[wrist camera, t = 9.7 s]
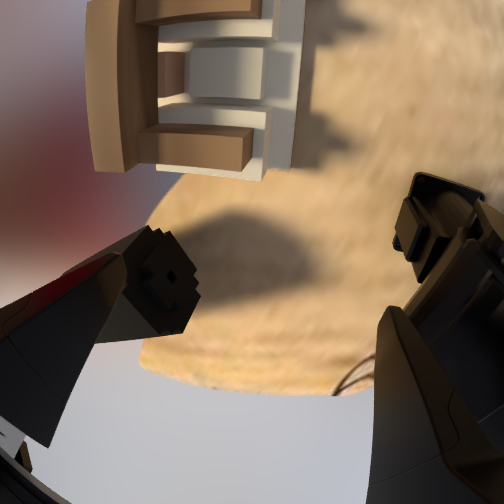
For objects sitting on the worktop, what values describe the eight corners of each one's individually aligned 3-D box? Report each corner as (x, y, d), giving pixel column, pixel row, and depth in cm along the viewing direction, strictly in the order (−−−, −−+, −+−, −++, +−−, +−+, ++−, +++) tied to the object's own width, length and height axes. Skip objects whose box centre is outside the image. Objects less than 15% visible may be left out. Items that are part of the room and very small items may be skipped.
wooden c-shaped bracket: (263, -9, 10) (244, -31, 7) (252, 157, 16) (233, 183, 13) (129, 7, 11) (87, 2, 8) (132, 149, 17) (95, 171, 14)
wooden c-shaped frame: (306, -12, 12) (303, -28, 9) (290, 167, 20) (284, 186, 17) (138, 1, 14) (109, -5, 11) (139, 153, 21) (114, 169, 18)
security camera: (77, 254, 31) (27, 310, 23) (182, 192, 23) (112, 269, 15) (110, 296, 34) (69, 354, 26) (225, 258, 26) (182, 349, 18)
